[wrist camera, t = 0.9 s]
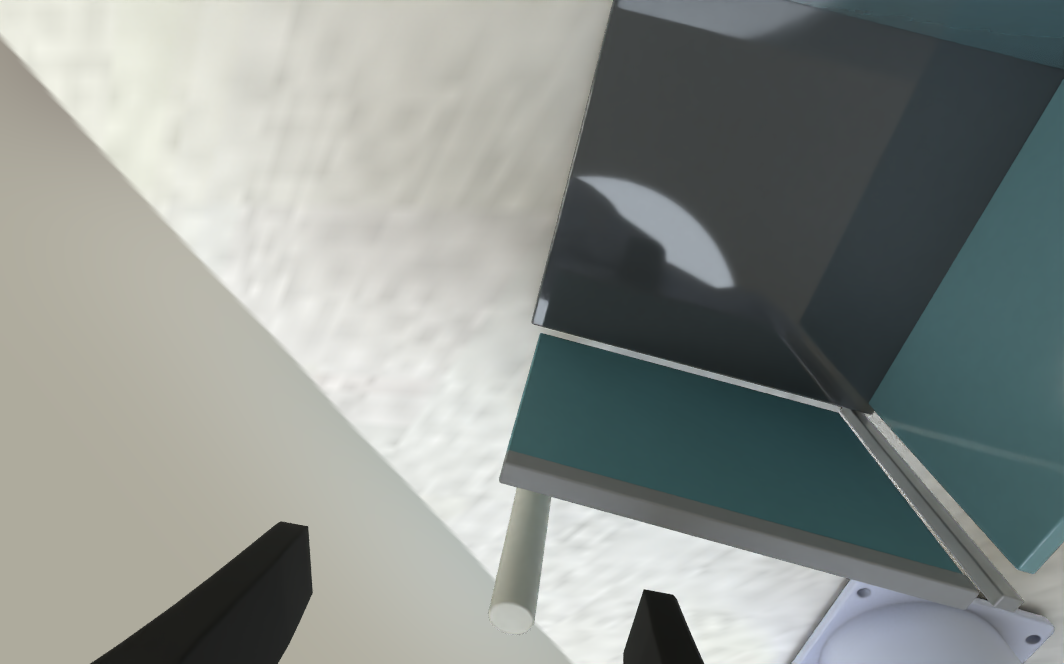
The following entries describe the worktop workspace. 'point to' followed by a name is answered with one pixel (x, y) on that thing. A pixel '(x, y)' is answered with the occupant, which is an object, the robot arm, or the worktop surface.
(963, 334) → the teal open box
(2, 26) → the worktop surface
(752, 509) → the teal shelf
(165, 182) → the worktop surface
